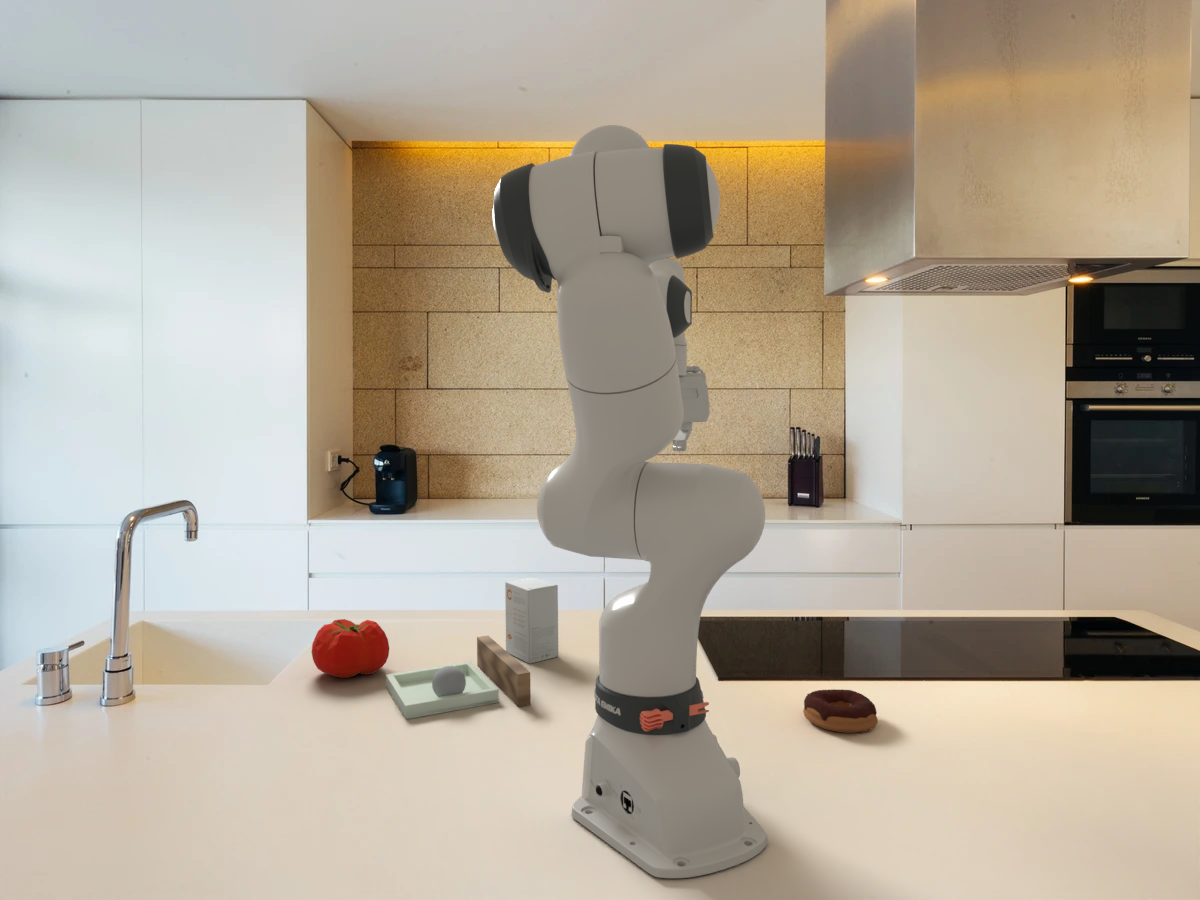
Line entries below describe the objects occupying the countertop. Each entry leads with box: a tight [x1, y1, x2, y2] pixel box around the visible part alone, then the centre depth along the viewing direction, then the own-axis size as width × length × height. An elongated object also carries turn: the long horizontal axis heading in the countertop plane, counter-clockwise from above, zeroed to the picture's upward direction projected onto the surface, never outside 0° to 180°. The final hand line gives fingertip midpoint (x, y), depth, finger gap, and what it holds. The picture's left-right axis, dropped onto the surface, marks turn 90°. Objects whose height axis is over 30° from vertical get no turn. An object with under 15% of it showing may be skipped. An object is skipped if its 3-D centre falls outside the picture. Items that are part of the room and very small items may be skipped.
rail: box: [476, 635, 532, 708], centre depth 129 cm, size 20×2×5 cm, turn 26°
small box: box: [504, 576, 559, 664], centre depth 142 cm, size 8×6×13 cm
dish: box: [385, 660, 500, 720], centre depth 124 cm, size 14×14×2 cm
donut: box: [802, 688, 879, 734], centre depth 114 cm, size 10×10×4 cm
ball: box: [432, 666, 466, 697], centre depth 121 cm, size 5×5×5 cm
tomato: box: [311, 618, 390, 679], centre depth 134 cm, size 13×12×8 cm
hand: (658, 452), depth 127 cm, fingers open, 8 cm apart
